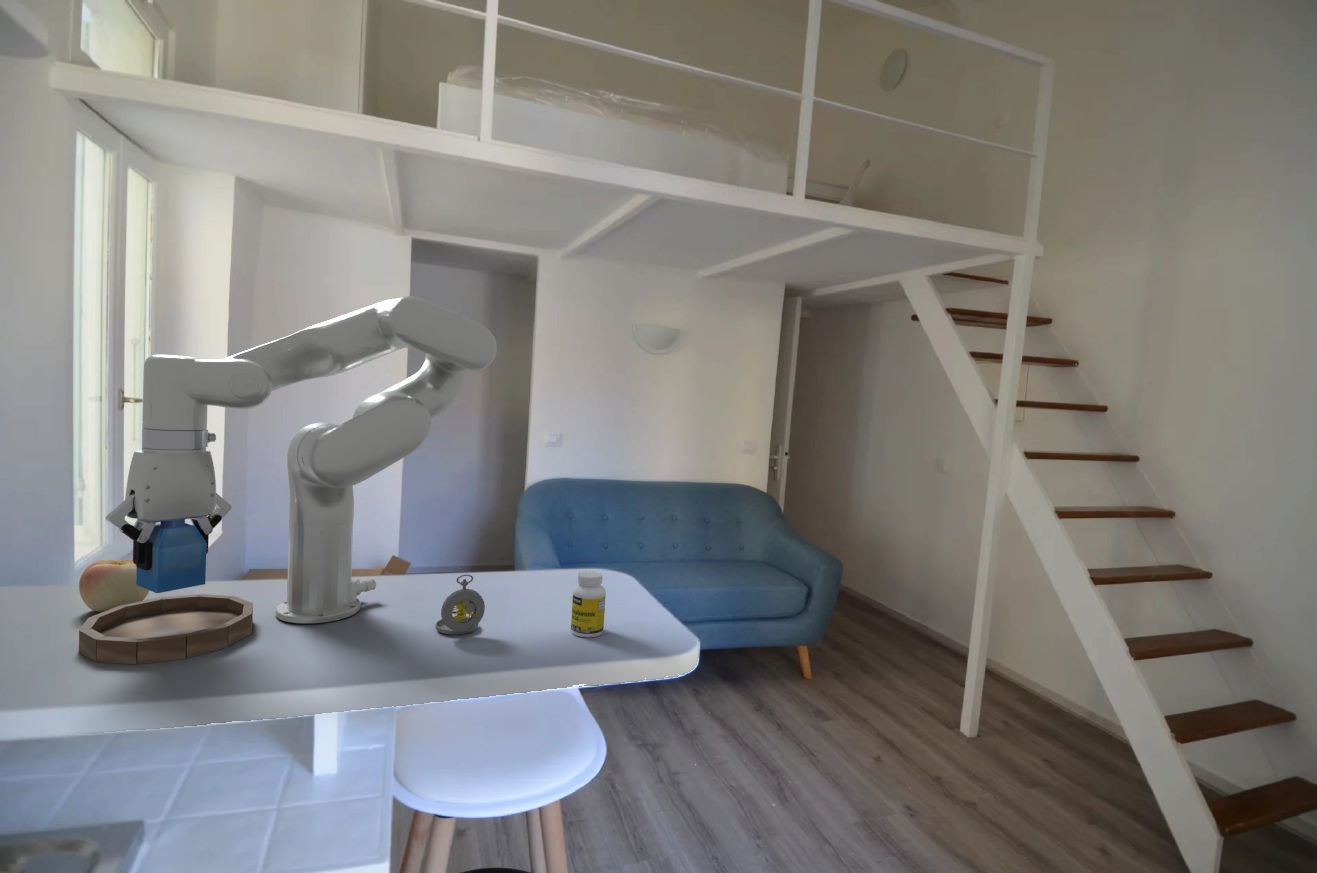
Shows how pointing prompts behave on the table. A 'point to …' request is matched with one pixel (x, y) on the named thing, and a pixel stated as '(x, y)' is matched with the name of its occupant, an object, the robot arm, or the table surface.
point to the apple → (110, 585)
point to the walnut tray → (165, 628)
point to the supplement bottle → (588, 605)
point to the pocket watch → (461, 611)
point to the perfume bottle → (174, 558)
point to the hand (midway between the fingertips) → (171, 563)
